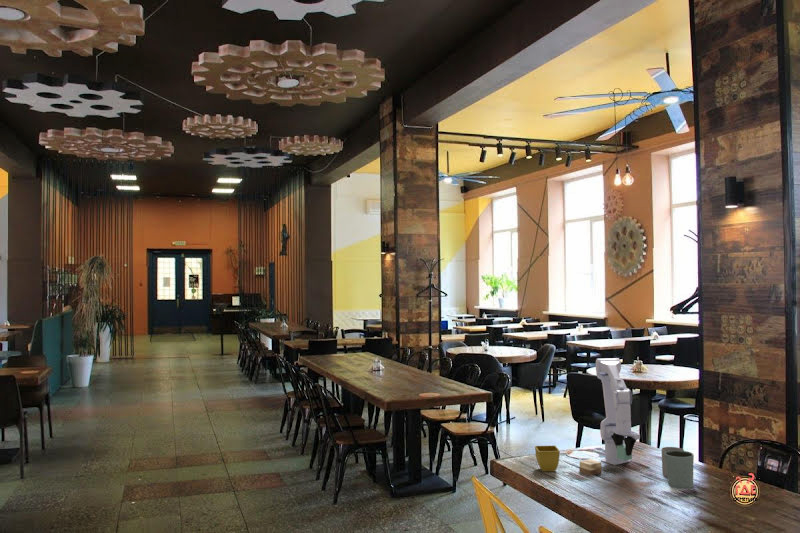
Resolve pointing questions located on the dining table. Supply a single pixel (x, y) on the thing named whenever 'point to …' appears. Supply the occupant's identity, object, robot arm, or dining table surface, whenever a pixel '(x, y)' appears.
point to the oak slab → (590, 464)
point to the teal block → (622, 453)
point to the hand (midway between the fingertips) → (624, 453)
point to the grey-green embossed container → (680, 468)
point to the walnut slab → (589, 471)
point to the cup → (664, 468)
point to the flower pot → (547, 457)
